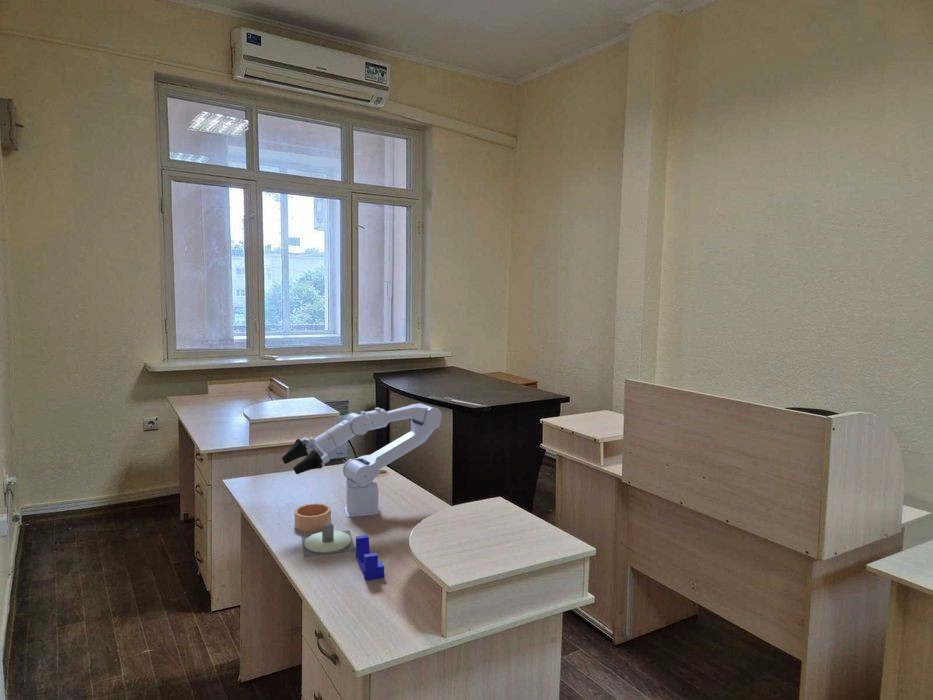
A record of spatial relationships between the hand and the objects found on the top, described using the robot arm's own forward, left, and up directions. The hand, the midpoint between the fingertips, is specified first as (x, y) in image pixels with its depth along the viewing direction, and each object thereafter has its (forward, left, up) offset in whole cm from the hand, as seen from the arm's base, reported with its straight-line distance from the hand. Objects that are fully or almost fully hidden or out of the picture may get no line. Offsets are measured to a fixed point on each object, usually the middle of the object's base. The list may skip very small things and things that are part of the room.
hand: (288, 466), depth 163 cm
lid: (-9, +13, -18) cm, 24 cm away
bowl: (-6, -1, -18) cm, 19 cm away
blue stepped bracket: (-18, +29, -19) cm, 39 cm away
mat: (-9, +13, -18) cm, 24 cm away
